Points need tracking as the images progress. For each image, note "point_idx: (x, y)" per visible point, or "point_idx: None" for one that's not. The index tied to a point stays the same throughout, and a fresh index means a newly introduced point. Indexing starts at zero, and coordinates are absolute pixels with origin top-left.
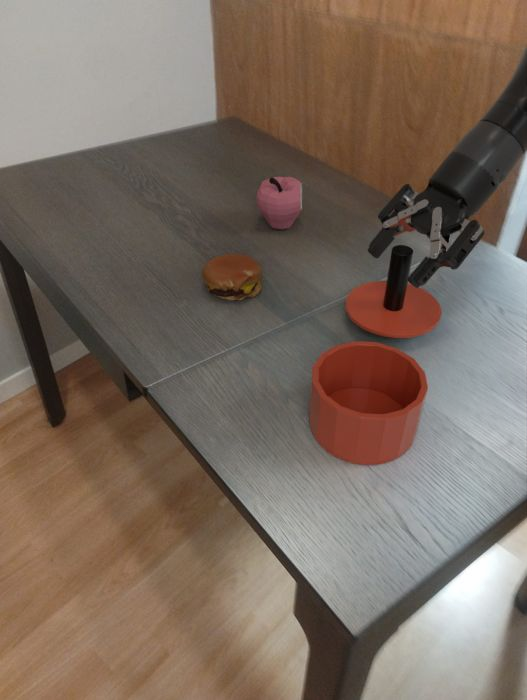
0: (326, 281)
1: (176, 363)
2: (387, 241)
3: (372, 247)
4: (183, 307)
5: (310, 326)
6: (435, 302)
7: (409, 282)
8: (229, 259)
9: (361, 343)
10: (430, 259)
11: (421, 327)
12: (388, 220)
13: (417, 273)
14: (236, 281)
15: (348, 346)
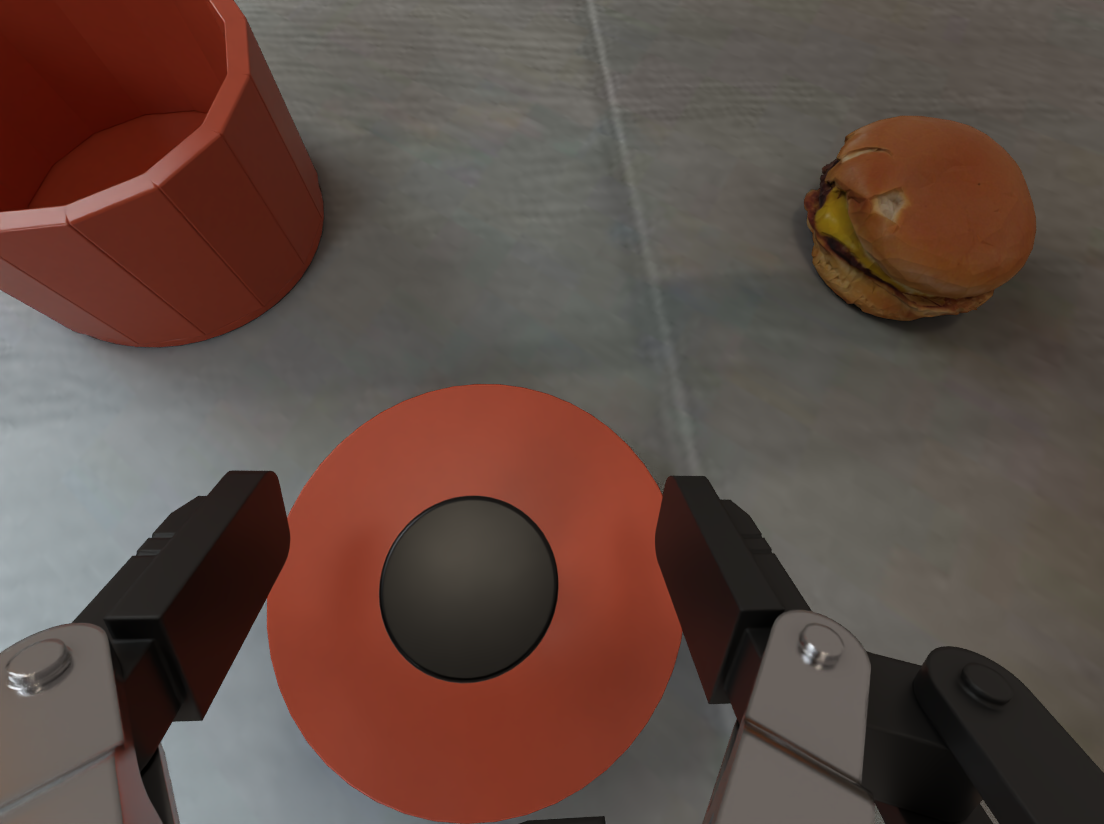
0: (825, 526)
1: (621, 13)
2: (698, 622)
3: (687, 488)
4: (831, 106)
5: (605, 331)
6: (398, 794)
7: (280, 496)
8: (987, 185)
9: (192, 141)
10: (123, 644)
11: (293, 584)
12: (857, 685)
13: (198, 508)
14: (856, 164)
15: (215, 101)
